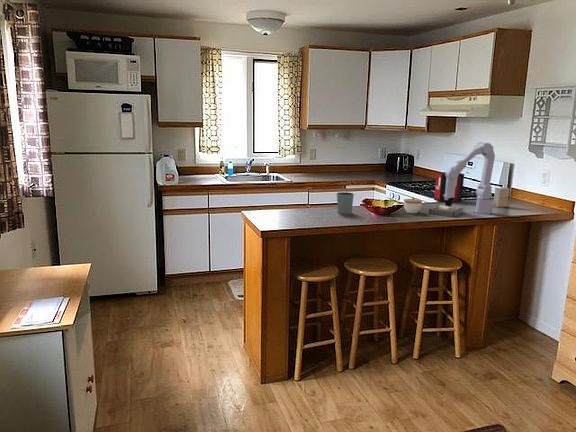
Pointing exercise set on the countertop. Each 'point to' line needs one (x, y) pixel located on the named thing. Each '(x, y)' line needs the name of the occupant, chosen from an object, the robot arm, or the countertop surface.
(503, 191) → the supplement box
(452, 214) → the bay
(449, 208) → the t block
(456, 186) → the cleaning product box
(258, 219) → the countertop surface
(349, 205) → the grey cup
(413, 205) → the lidded jar
